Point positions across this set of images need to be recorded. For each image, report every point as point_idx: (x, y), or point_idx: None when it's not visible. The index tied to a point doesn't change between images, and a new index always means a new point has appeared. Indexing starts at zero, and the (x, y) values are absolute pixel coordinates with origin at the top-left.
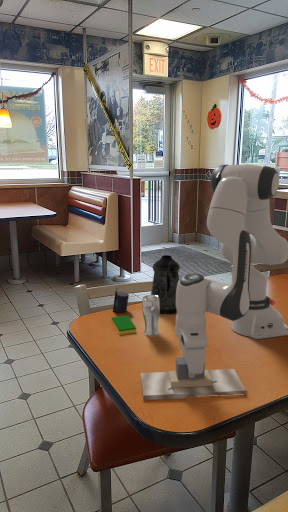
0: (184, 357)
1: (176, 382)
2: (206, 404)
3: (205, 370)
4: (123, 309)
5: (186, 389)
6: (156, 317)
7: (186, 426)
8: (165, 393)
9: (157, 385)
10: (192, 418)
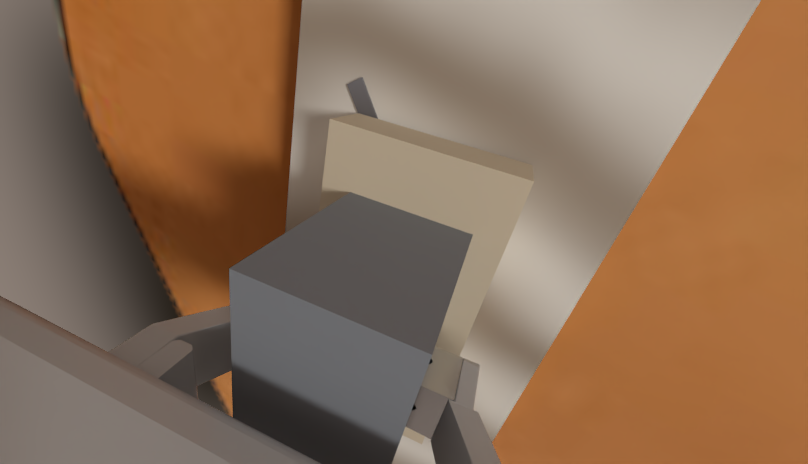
0: (207, 439)
1: (327, 165)
2: (245, 250)
3: (410, 429)
4: None
5: None
6: None
7: (101, 68)
8: (311, 32)
9: None
10: (153, 128)
